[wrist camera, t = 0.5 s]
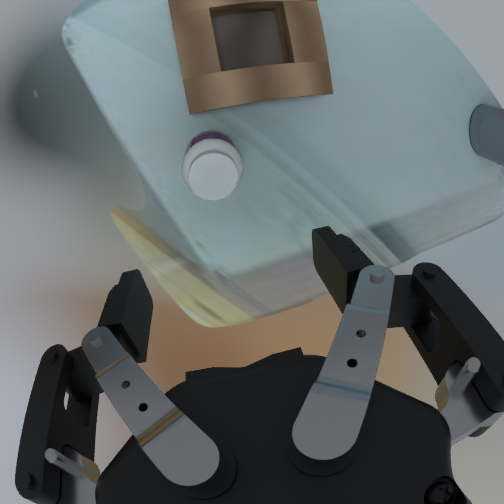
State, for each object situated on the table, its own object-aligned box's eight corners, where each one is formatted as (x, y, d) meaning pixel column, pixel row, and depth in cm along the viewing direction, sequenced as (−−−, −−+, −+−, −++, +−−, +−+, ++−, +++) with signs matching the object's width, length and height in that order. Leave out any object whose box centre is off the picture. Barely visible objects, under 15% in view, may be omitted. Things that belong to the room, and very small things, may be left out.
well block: (298, -14, 21) (310, -26, 17) (318, 93, 28) (333, 94, 25) (170, -1, 20) (166, -13, 17) (191, 112, 27) (190, 114, 24)
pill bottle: (180, 137, 28) (170, 153, 20) (229, 125, 29) (239, 135, 20) (192, 183, 31) (189, 216, 23) (239, 171, 31) (253, 200, 23)
